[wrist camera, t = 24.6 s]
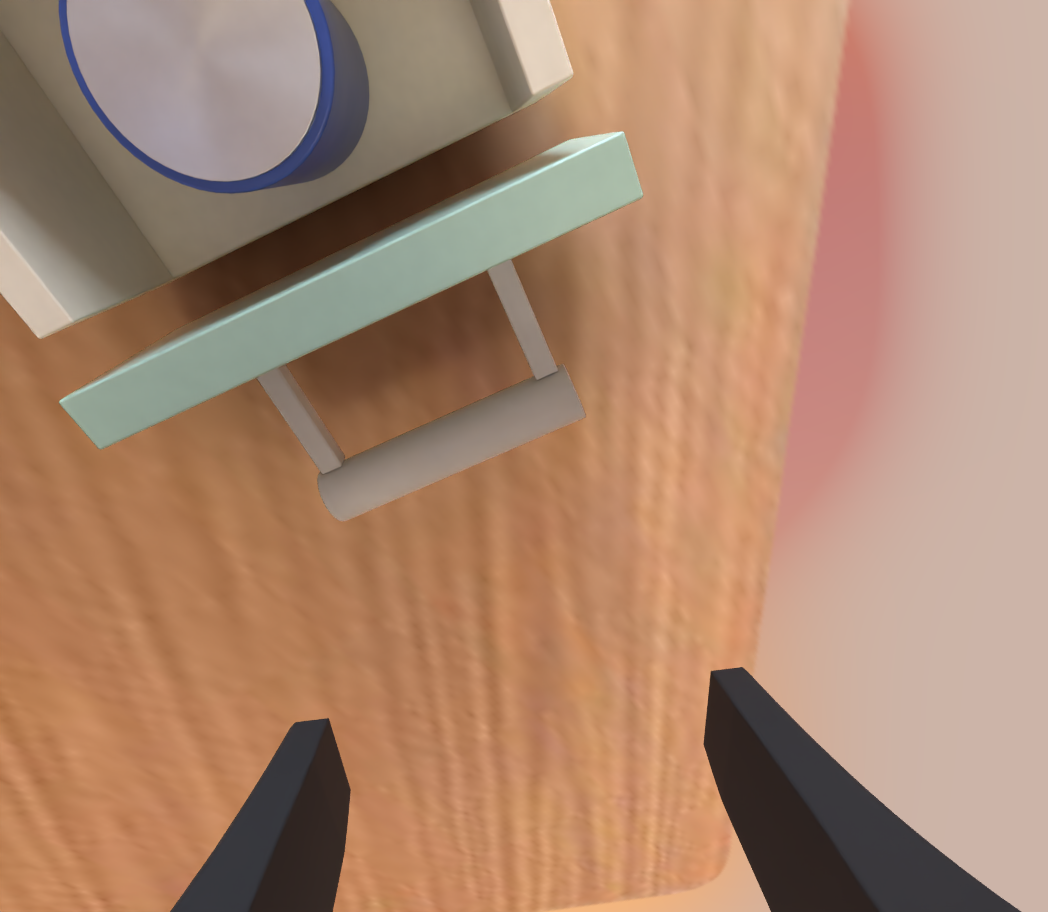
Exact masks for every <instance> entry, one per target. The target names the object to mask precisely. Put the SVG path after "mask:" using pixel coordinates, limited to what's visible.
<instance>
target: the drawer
mask: <svg viewBox="0 0 1048 912" xmlns="http://www.w3.org/2000/svg"><path fill="white" fill-rule="evenodd" d="M330 1H331V2H332V3H333V4H334V5H335V7H336V8H337V9H338V10H339V11H340V13H341V14H342V15H343V17H344V18H345V20H346V21H347V23H348V24H349V26H350V28H351V29H352V31H353V33H354V35H355V37H356V39H357V41H358V44H359V46H360V49H361V51H362V54H363V57H364V61H365V64H366V68H367V74H368V80H369V110H368V115H367V120H366V124H365V127H364V130H363V133H362V136H361V138H360V140H359V142H358V144H357V146H356V147H355V149H354V150H353V152H352V153H351V155H350V156H349V157H348V158H347V159H346V160H345V161H344V162H343V163H342V164H341V165H340V166H339V167H338V168H336V169H335V170H334V171H332V172H330V173H329V174H327V175H325V176H323V177H321V178H318V179H316V180H313V181H309V182H305V183H299V184H293V185H287V186H282V187H276V188H270V189H264V190H258V191H252V192H245V193H234V194H229V193H214V192H208V191H203V190H198V189H195V188H192V187H189V186H185V185H182V184H180V183H178V182H176V181H173V180H171V179H169V178H167V177H165V176H163V175H161V174H160V173H158V172H156V171H155V170H153V169H151V168H150V167H148V166H147V165H146V164H144V163H143V162H141V161H140V160H139V159H137V158H136V157H135V156H134V155H132V154H131V153H130V152H129V151H128V150H127V149H126V148H125V147H124V146H122V145H121V144H120V143H119V142H118V141H117V139H116V138H115V137H114V136H113V135H112V134H111V133H110V132H109V131H108V130H107V128H106V127H105V126H104V124H103V123H102V122H101V120H100V119H99V118H98V116H97V115H96V114H95V112H94V111H93V110H92V108H91V106H90V105H89V103H88V101H87V100H86V98H85V96H84V95H83V93H82V91H81V89H80V87H79V85H78V82H77V80H76V78H75V76H74V74H73V71H72V69H71V66H70V63H69V60H68V57H67V55H66V51H65V47H64V43H63V38H62V34H61V28H60V19H59V0H0V293H1V295H2V296H3V297H4V298H5V299H6V300H7V302H8V303H9V304H10V305H11V306H12V308H13V309H14V310H15V311H16V312H17V314H18V315H19V316H20V317H21V318H22V319H23V321H24V322H25V323H26V324H27V325H28V327H29V328H30V329H31V330H32V331H33V333H34V334H35V335H36V336H37V337H38V338H39V339H43V338H45V337H47V336H50V335H52V334H54V333H56V332H59V331H61V330H63V329H66V328H68V327H70V326H72V325H75V324H77V323H79V322H82V321H84V320H86V319H88V318H91V317H93V316H95V315H98V314H100V313H102V312H104V311H107V310H109V309H111V308H114V307H116V306H118V305H120V304H123V303H125V302H127V301H130V300H132V299H134V298H136V297H139V296H141V295H143V294H146V293H148V292H150V291H152V290H155V289H157V288H159V287H162V286H164V285H166V284H168V283H170V282H172V281H174V280H176V279H178V278H180V277H182V276H184V275H186V274H188V273H190V272H192V271H194V270H196V269H198V268H200V267H202V266H204V265H206V264H209V263H211V262H213V261H215V260H217V259H219V258H221V257H223V256H225V255H227V254H229V253H231V252H233V251H235V250H237V249H239V248H241V247H243V246H245V245H247V244H249V243H251V242H253V241H255V240H257V239H259V238H261V237H263V236H265V235H268V234H270V233H272V232H274V231H276V230H278V229H280V228H282V227H284V226H286V225H288V224H290V223H292V222H294V221H296V220H298V219H300V218H302V217H304V216H306V215H308V214H310V213H312V212H314V211H316V210H318V209H320V208H322V207H325V206H327V205H329V204H331V203H333V202H335V201H337V200H339V199H341V198H343V197H345V196H347V195H349V194H351V193H353V192H355V191H357V190H359V189H361V188H363V187H365V186H367V185H369V184H371V183H373V182H375V181H377V180H379V179H381V178H384V177H386V176H388V175H390V174H392V173H394V172H396V171H398V170H400V169H402V168H404V167H406V166H408V165H410V164H412V163H414V162H416V161H418V160H420V159H422V158H424V157H426V156H428V155H430V154H432V153H434V152H436V151H438V150H440V149H443V148H445V147H447V146H449V145H451V144H453V143H455V142H457V141H459V140H461V139H463V138H465V137H467V136H469V135H471V134H473V133H475V132H477V131H479V130H481V129H483V128H485V127H487V126H489V125H491V124H493V123H495V122H497V121H500V120H502V119H504V118H506V117H508V116H510V115H512V114H514V113H516V112H518V111H520V110H522V109H524V108H526V107H528V106H530V105H532V104H534V103H536V102H538V101H539V100H541V99H542V98H544V97H545V96H546V95H548V94H549V93H551V92H552V91H554V90H555V89H556V88H558V87H559V86H561V85H562V84H564V83H565V82H566V81H568V80H569V79H571V78H572V77H573V70H572V67H571V64H570V61H569V58H568V55H567V52H566V49H565V46H564V43H563V40H562V37H561V34H560V31H559V27H558V24H557V21H556V18H555V15H554V12H553V9H552V6H551V3H550V0H330ZM642 197H643V192H642V189H641V186H640V182H639V179H638V176H637V173H636V169H635V166H634V163H633V159H632V156H631V153H630V150H629V146H628V143H627V140H626V137H625V133H624V132H614V133H608V134H601V135H595V136H588V137H582V138H575V139H570V140H568V141H565V142H563V143H561V144H559V145H557V146H555V147H553V148H551V149H549V150H547V151H545V152H543V153H541V154H539V155H536V156H534V157H532V158H530V159H528V160H526V161H524V162H522V163H520V164H518V165H516V166H514V167H512V168H509V169H507V170H505V171H503V172H501V173H499V174H497V175H495V176H493V177H491V178H489V179H487V180H485V181H483V182H480V183H478V184H476V185H474V186H472V187H470V188H468V189H466V190H464V191H462V192H460V193H458V194H456V195H453V196H451V197H449V198H447V199H445V200H443V201H441V202H439V203H437V204H435V205H433V206H431V207H429V208H426V209H424V210H422V211H420V212H418V213H416V214H414V215H412V216H410V217H408V218H406V219H404V220H402V221H400V222H397V223H395V224H393V225H391V226H389V227H387V228H385V229H383V230H381V231H379V232H377V233H375V234H373V235H370V236H368V237H366V238H364V239H362V240H360V241H358V242H356V243H354V244H352V245H350V246H348V247H346V248H343V249H341V250H339V251H337V252H335V253H333V254H331V255H329V256H327V257H325V258H323V259H321V260H319V261H317V262H314V263H312V264H310V265H308V266H306V267H304V268H302V269H300V270H298V271H296V272H294V273H292V274H290V275H287V276H285V277H283V278H281V279H279V280H277V281H275V282H273V283H271V284H269V285H267V286H265V287H263V288H261V289H258V290H256V291H254V292H252V293H250V294H248V295H246V296H244V297H242V298H240V299H238V300H236V301H234V302H231V303H229V304H227V305H225V306H223V307H221V308H219V309H217V310H215V311H213V312H211V313H209V314H207V315H204V316H202V317H200V318H198V319H196V320H194V321H192V322H190V323H188V324H186V325H184V326H182V327H180V328H178V329H176V330H174V331H172V332H171V333H169V334H168V335H166V336H164V337H163V338H161V339H159V340H158V341H156V342H154V343H153V344H151V345H149V346H148V347H146V348H145V349H143V350H141V351H140V352H138V353H136V354H135V355H133V356H131V357H130V358H128V359H127V360H125V361H123V362H122V363H120V364H118V365H117V366H115V367H113V368H112V369H110V370H108V371H107V372H105V373H104V374H102V375H100V376H99V377H97V378H95V379H94V380H92V381H90V382H89V383H87V384H86V385H84V386H82V387H81V388H79V389H77V390H76V391H74V392H72V393H71V394H69V395H68V396H66V397H64V398H63V399H61V400H60V401H59V404H60V405H61V406H62V407H63V408H64V410H65V411H66V412H67V413H68V414H69V415H70V417H71V418H72V419H73V420H74V421H75V422H76V423H77V425H78V426H79V427H80V428H81V429H82V430H83V431H84V433H85V434H86V435H87V436H88V437H89V438H90V439H91V441H92V442H93V443H94V444H95V445H96V446H97V448H98V449H104V448H107V447H109V446H111V445H113V444H115V443H117V442H120V441H122V440H124V439H126V438H128V437H130V436H132V435H135V434H137V433H139V432H141V431H143V430H145V429H147V428H150V427H152V426H154V425H156V424H158V423H160V422H162V421H165V420H167V419H169V418H171V417H173V416H175V415H178V414H180V413H182V412H184V411H186V410H188V409H190V408H193V407H195V406H197V405H199V404H201V403H203V402H205V401H208V400H210V399H212V398H214V397H216V396H218V395H220V394H223V393H225V392H227V391H229V390H231V389H233V388H235V387H238V386H240V385H242V384H244V383H246V382H248V381H251V380H253V379H255V378H257V380H258V381H259V383H260V384H261V385H262V387H263V388H264V390H265V391H266V393H267V394H268V396H269V397H270V399H271V400H272V402H273V403H274V404H275V406H276V407H277V409H278V410H279V412H280V413H281V415H282V416H283V418H284V419H285V421H286V422H287V423H288V425H289V426H290V428H291V429H292V431H293V432H294V434H295V435H296V437H297V438H298V440H299V441H300V442H301V444H302V445H303V447H304V448H305V450H306V451H307V453H308V454H309V456H310V457H311V459H312V460H313V461H314V463H315V464H316V466H317V467H318V469H319V470H320V472H319V474H318V478H317V482H318V489H319V492H320V495H321V498H322V500H323V502H324V504H325V506H326V508H327V509H328V511H329V512H330V513H331V514H332V515H333V516H334V517H335V518H336V519H337V520H339V521H347V520H349V519H352V518H354V517H356V516H359V515H361V514H363V513H365V512H368V511H370V510H372V509H375V508H377V507H379V506H382V505H384V504H386V503H389V502H391V501H393V500H396V499H398V498H400V497H403V496H405V495H407V494H409V493H412V492H414V491H416V490H419V489H421V488H423V487H426V486H428V485H430V484H433V483H435V482H437V481H440V480H442V479H444V478H447V477H449V476H451V475H453V474H456V473H458V472H460V471H463V470H465V469H467V468H470V467H472V466H474V465H477V464H479V463H481V462H484V461H486V460H488V459H491V458H493V457H495V456H498V455H500V454H502V453H504V452H507V451H509V450H511V449H514V448H516V447H518V446H521V445H523V444H525V443H528V442H530V441H532V440H535V439H537V438H539V437H542V436H544V435H546V434H548V433H551V432H553V431H555V430H558V429H560V428H562V427H565V426H567V425H569V424H572V423H574V422H576V421H579V420H581V419H583V418H585V417H586V414H585V411H584V409H583V406H582V404H581V401H580V399H579V397H578V394H577V392H576V390H575V387H574V385H573V383H572V380H571V378H570V376H569V374H568V371H567V369H566V367H565V365H564V364H560V365H558V366H556V364H555V362H554V359H553V357H552V354H551V352H550V350H549V347H548V345H547V343H546V340H545V338H544V336H543V333H542V331H541V329H540V326H539V324H538V321H537V319H536V317H535V314H534V312H533V310H532V307H531V305H530V303H529V300H528V298H527V296H526V293H525V291H524V288H523V286H522V284H521V281H520V279H519V277H518V274H517V272H516V270H515V267H514V265H513V263H512V260H511V259H513V258H515V257H517V256H519V255H521V254H523V253H525V252H528V251H530V250H532V249H534V248H536V247H538V246H540V245H543V244H545V243H547V242H549V241H551V240H553V239H555V238H558V237H560V236H562V235H564V234H566V233H568V232H570V231H573V230H575V229H577V228H579V227H581V226H583V225H586V224H588V223H590V222H592V221H594V220H596V219H598V218H601V217H603V216H605V215H607V214H609V213H611V212H613V211H616V210H618V209H620V208H622V207H624V206H626V205H628V204H631V203H633V202H635V201H637V200H639V199H641V198H642ZM485 271H487V272H488V274H489V276H490V279H491V281H492V283H493V285H494V287H495V290H496V292H497V294H498V296H499V299H500V301H501V303H502V305H503V308H504V310H505V312H506V314H507V317H508V319H509V321H510V323H511V326H512V328H513V330H514V332H515V334H516V337H517V339H518V341H519V343H520V346H521V348H522V350H523V352H524V355H525V357H526V359H527V361H528V364H529V366H530V368H531V370H532V373H533V375H534V376H533V377H531V378H528V379H526V380H524V381H522V382H519V383H517V384H515V385H513V386H510V387H508V388H506V389H503V390H501V391H499V392H497V393H494V394H492V395H490V396H488V397H485V398H483V399H481V400H479V401H476V402H474V403H472V404H470V405H467V406H465V407H463V408H461V409H458V410H456V411H454V412H452V413H449V414H447V415H445V416H443V417H440V418H438V419H436V420H434V421H431V422H429V423H427V424H424V425H422V426H420V427H418V428H415V429H413V430H411V431H409V432H406V433H404V434H402V435H400V436H397V437H395V438H393V439H391V440H388V441H386V442H384V443H382V444H379V445H377V446H375V447H373V448H370V449H368V450H366V451H364V452H361V453H359V454H357V455H355V456H352V457H350V458H348V459H345V455H344V454H343V452H342V451H341V449H340V447H339V446H338V444H337V443H336V441H335V440H334V438H333V437H332V435H331V434H330V432H329V431H328V429H327V428H326V426H325V424H324V423H323V421H322V420H321V418H320V417H319V415H318V414H317V412H316V411H315V409H314V408H313V406H312V405H311V403H310V401H309V400H308V398H307V397H306V395H305V394H304V392H303V391H302V389H301V388H300V386H299V385H298V383H297V382H296V380H295V378H294V377H293V375H292V374H291V372H290V371H289V369H288V368H287V366H286V365H285V364H287V363H289V362H291V361H293V360H296V359H298V358H300V357H302V356H304V355H306V354H309V353H311V352H313V351H315V350H317V349H319V348H321V347H324V346H326V345H328V344H330V343H332V342H334V341H336V340H339V339H341V338H343V337H345V336H347V335H349V334H351V333H354V332H356V331H358V330H360V329H362V328H364V327H366V326H369V325H371V324H373V323H375V322H377V321H379V320H382V319H384V318H386V317H388V316H390V315H392V314H394V313H397V312H399V311H401V310H403V309H405V308H407V307H409V306H412V305H414V304H416V303H418V302H420V301H422V300H424V299H427V298H429V297H431V296H433V295H435V294H437V293H440V292H442V291H444V290H446V289H448V288H450V287H452V286H455V285H457V284H459V283H461V282H463V281H465V280H467V279H470V278H472V277H474V276H476V275H478V274H480V273H482V272H485ZM344 459H345V460H344Z"/></svg>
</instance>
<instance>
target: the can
mask: <svg viewBox="0 0 1048 912" xmlns="http://www.w3.org/2000/svg"><path fill="white" fill-rule="evenodd" d="M59 19H60V28H61V34H62V38H63V43H64V47H65V51H66V55H67V57H68V60H69V63H70V66H71V69H72V71H73V74H74V76H75V78H76V80H77V82H78V85H79V87H80V89H81V91H82V93H83V95H84V96H85V98H86V100H87V101H88V103H89V105H90V106H91V108H92V110H93V111H94V112H95V114H96V115H97V116H98V118H99V119H100V120H101V122H102V123H103V124H104V126H105V127H106V128H107V130H108V131H109V132H110V133H111V134H112V135H113V136H114V137H115V138H116V139H117V141H118V142H119V143H120V144H121V145H122V146H124V147H125V148H126V149H127V150H128V151H129V152H130V153H131V154H132V155H134V156H135V157H136V158H137V159H139V160H140V161H141V162H143V163H144V164H146V165H147V166H148V167H150V168H151V169H153V170H155V171H156V172H158V173H160V174H161V175H163V176H165V177H167V178H169V179H171V180H173V181H176V182H178V183H180V184H182V185H185V186H189V187H192V188H195V189H198V190H203V191H208V192H214V193H229V194H234V193H245V192H252V191H258V190H264V189H270V188H276V187H282V186H287V185H293V184H299V183H305V182H309V181H313V180H316V179H318V178H321V177H323V176H325V175H327V174H329V173H330V172H332V171H334V170H335V169H336V168H338V167H339V166H340V165H341V164H342V163H343V162H344V161H345V160H346V159H347V158H348V157H349V156H350V155H351V153H352V152H353V150H354V149H355V147H356V146H357V144H358V142H359V140H360V138H361V136H362V133H363V130H364V127H365V124H366V120H367V115H368V110H369V80H368V74H367V68H366V64H365V61H364V57H363V54H362V51H361V49H360V46H359V44H358V41H357V39H356V37H355V35H354V33H353V31H352V29H351V28H350V26H349V24H348V23H347V21H346V20H345V18H344V17H343V15H342V14H341V13H340V11H339V10H338V9H337V8H336V7H335V5H334V4H333V3H332V2H331V1H330V0H59Z"/></svg>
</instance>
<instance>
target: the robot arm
mask: <svg viewBox="0 0 1048 912" xmlns="http://www.w3.org/2000/svg"><path fill="white" fill-rule="evenodd" d="M704 747H705V750H706V753H707V756H708V760H709V763H710V766H711V769H712V772H713V775H714V778H715V781H716V784H717V787H718V790H719V793H720V796H721V799H722V802H723V804H724V806H725V809H726V811H727V813H728V816H729V818H730V820H731V823H732V825H733V827H734V829H735V832H736V834H737V836H738V838H739V841H740V843H741V845H742V847H743V850H744V852H745V854H746V856H747V859H748V861H749V863H750V865H751V868H752V870H753V872H754V874H755V876H756V879H757V881H758V883H759V885H760V888H761V890H762V892H763V894H764V897H765V899H766V901H767V903H768V906H769V908H770V910H771V912H1021V911H1019V910H1018V909H1017V908H1015V907H1014V906H1012V905H1011V904H1010V903H1008V902H1007V901H1005V900H1004V899H1002V898H1001V897H1000V896H998V895H997V894H995V893H994V892H993V891H991V890H990V889H989V888H987V887H986V886H985V885H983V884H982V883H981V882H979V881H978V880H977V879H975V878H974V877H973V876H971V875H970V874H969V873H967V872H966V871H965V870H963V869H962V868H961V867H959V866H958V865H957V864H956V863H954V862H953V861H952V860H951V859H949V858H948V857H947V856H945V855H944V854H943V853H942V852H940V851H939V850H938V849H937V848H935V847H934V846H933V845H931V844H930V843H929V842H928V841H927V840H925V839H924V838H923V837H922V836H920V835H919V834H918V833H916V831H914V830H913V829H912V828H911V827H910V826H908V825H907V824H906V823H905V822H904V821H902V820H901V819H900V818H899V817H898V816H897V815H895V814H894V813H893V812H892V811H891V810H890V809H888V808H887V807H886V806H885V805H884V804H883V803H882V802H880V801H879V800H878V799H877V798H876V797H875V796H874V795H872V794H871V793H870V792H869V791H868V790H867V789H865V787H863V786H862V785H861V784H860V783H859V782H858V781H857V780H856V779H855V778H853V776H851V775H850V774H849V773H848V772H847V771H846V770H845V769H844V768H843V767H842V766H841V765H840V764H839V763H838V762H837V761H836V760H834V759H833V758H832V757H831V756H830V755H829V754H828V753H827V752H826V751H825V750H824V749H823V748H822V747H821V746H820V745H819V744H818V743H816V741H815V740H814V739H813V738H811V736H810V735H808V734H807V733H806V732H805V731H804V730H803V729H802V728H801V727H800V726H799V725H798V724H797V722H795V720H794V719H792V718H791V716H790V715H789V714H788V713H787V712H786V711H785V710H784V709H783V708H782V707H781V706H780V705H779V704H778V703H777V702H776V701H775V700H774V699H773V698H772V697H771V696H770V695H769V694H768V693H767V692H766V691H765V690H764V689H763V687H762V686H761V685H759V683H758V682H757V681H756V680H755V679H754V678H753V677H752V676H751V675H750V674H749V673H748V672H747V671H746V670H745V669H744V668H743V667H740V668H732V669H724V670H716V671H711V676H710V686H709V696H708V706H707V716H706V726H705V735H704ZM350 791H351V790H350V786H349V783H348V780H347V777H346V773H345V770H344V767H343V763H342V760H341V757H340V754H339V750H338V747H337V744H336V740H335V737H334V734H333V731H332V727H331V724H330V721H329V718H327V719H319V720H311V721H303V722H295V723H294V724H293V725H292V727H291V728H290V729H289V731H288V733H287V734H286V736H285V738H284V740H283V741H282V743H281V745H280V746H279V748H278V750H277V751H276V753H275V755H274V756H273V758H272V760H271V761H270V763H269V765H268V766H267V768H266V770H265V771H264V773H263V775H262V776H261V778H260V780H259V781H258V783H257V784H256V786H255V788H254V789H253V791H252V792H251V794H250V796H249V797H248V799H247V800H246V802H245V803H244V805H243V807H242V808H241V810H240V811H239V813H238V814H237V816H236V817H235V819H234V820H233V822H232V823H231V825H230V826H229V828H228V829H227V831H226V833H225V834H224V836H223V837H222V839H221V840H220V842H219V843H218V845H217V846H216V848H215V849H214V851H213V852H212V854H211V855H210V857H209V858H208V859H207V861H206V862H205V864H204V865H203V866H202V868H201V869H200V871H199V872H198V873H197V875H196V876H195V878H194V879H193V880H192V882H191V883H190V885H189V886H188V888H187V889H186V890H185V892H184V893H183V895H182V896H181V897H180V899H179V900H178V902H177V903H176V904H175V906H174V907H173V909H172V910H171V911H170V912H333V907H334V902H335V897H336V892H337V887H338V882H339V877H340V872H341V867H342V862H343V857H344V852H345V843H346V833H347V824H348V813H349V802H350Z"/></svg>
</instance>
